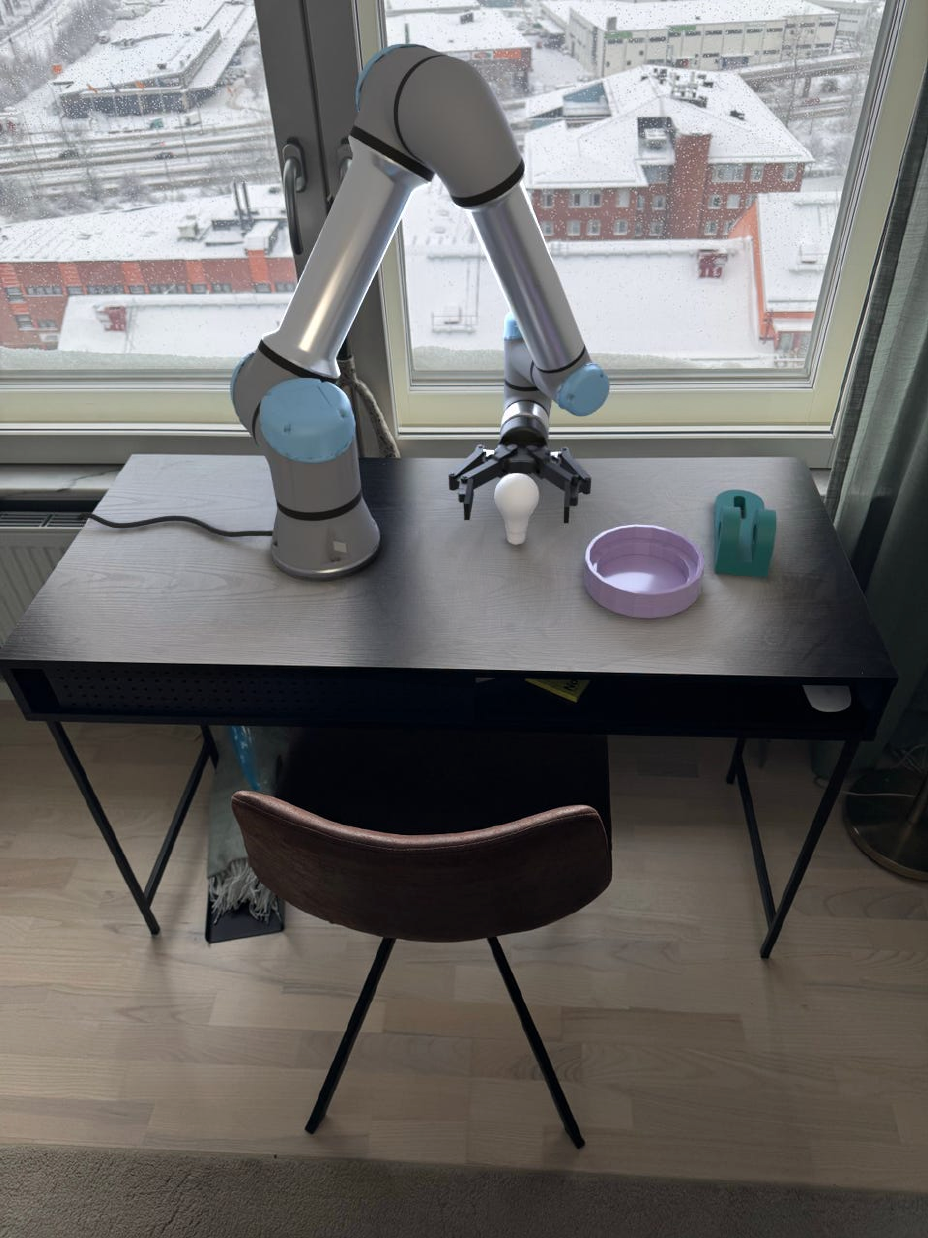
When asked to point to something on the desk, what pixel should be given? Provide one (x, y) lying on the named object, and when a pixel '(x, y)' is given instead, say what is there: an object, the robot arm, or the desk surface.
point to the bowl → (643, 571)
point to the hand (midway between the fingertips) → (516, 513)
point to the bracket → (743, 534)
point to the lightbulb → (516, 504)
